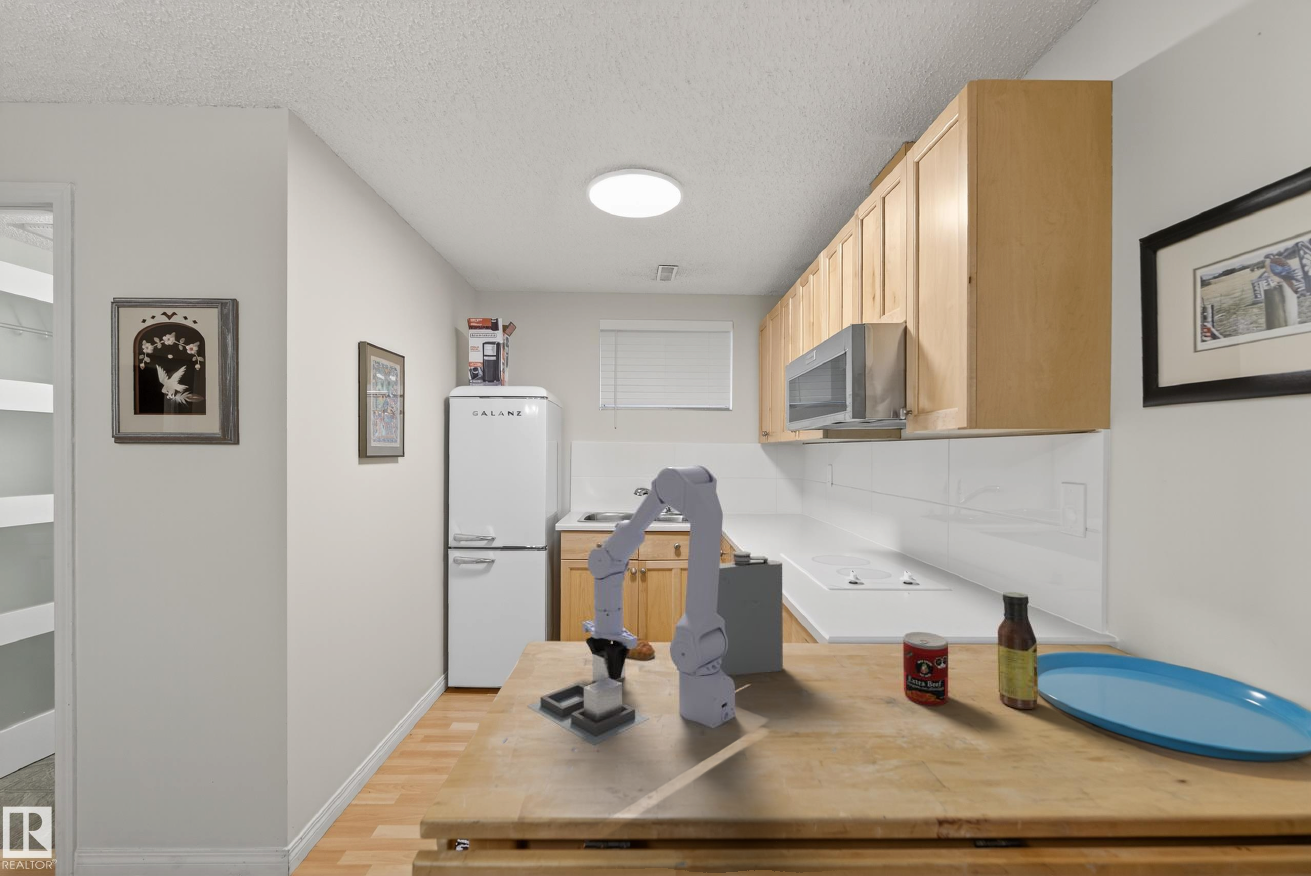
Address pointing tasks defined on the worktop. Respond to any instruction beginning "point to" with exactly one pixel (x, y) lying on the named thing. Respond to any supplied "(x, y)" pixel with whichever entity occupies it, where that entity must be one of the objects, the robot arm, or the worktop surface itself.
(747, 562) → the flask
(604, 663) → the metal billet
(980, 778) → the worktop surface
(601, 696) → the block
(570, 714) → the pallet
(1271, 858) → the worktop surface
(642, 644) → the pastry
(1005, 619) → the sauce bottle
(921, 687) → the canned food
